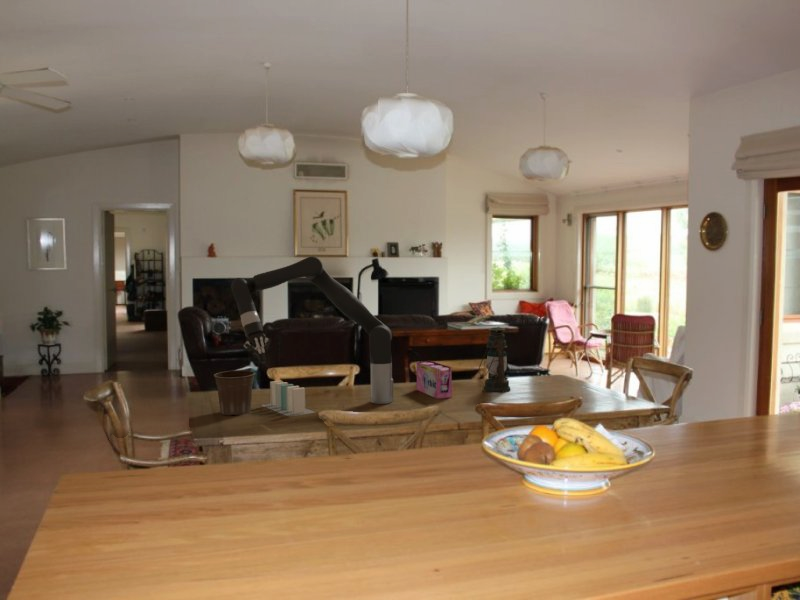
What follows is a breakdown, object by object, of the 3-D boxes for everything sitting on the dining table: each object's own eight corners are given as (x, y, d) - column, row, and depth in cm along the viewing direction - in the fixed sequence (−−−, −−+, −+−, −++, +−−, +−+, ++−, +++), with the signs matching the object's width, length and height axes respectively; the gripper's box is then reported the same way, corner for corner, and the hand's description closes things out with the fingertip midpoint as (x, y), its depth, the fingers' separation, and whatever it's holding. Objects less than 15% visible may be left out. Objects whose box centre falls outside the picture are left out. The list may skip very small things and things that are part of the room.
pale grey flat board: (260, 406, 291) (260, 405, 291) (286, 402, 298) (286, 401, 298) (289, 417, 270) (289, 416, 270) (315, 413, 277) (315, 412, 277)
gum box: (453, 398, 305) (453, 367, 304) (437, 399, 302) (437, 369, 301) (431, 388, 327) (431, 360, 326) (416, 389, 324) (415, 361, 323)
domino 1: (270, 405, 291) (270, 381, 291) (281, 403, 294) (280, 380, 294) (272, 405, 290) (271, 382, 290) (282, 404, 293) (282, 381, 292)
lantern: (515, 393, 313) (516, 328, 311) (485, 394, 311) (485, 329, 310) (504, 385, 332) (504, 324, 330) (475, 386, 331) (475, 324, 329)
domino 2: (275, 407, 287) (275, 383, 287) (286, 405, 290) (286, 382, 290) (277, 407, 286) (277, 384, 286) (288, 406, 289) (287, 382, 288)
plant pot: (235, 419, 269) (234, 378, 268) (206, 414, 277) (205, 374, 276) (264, 411, 282) (263, 372, 281) (235, 406, 291) (234, 369, 290)
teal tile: (281, 409, 283) (280, 385, 283) (292, 407, 286) (291, 383, 286) (283, 409, 282) (282, 385, 282) (294, 408, 285) (293, 384, 284)
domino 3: (286, 411, 279) (286, 387, 279) (297, 409, 282) (297, 385, 282) (288, 412, 278) (288, 387, 277) (299, 410, 281) (299, 386, 280)
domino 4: (292, 413, 275) (291, 388, 275) (303, 411, 278) (303, 387, 278) (294, 414, 274) (293, 389, 273) (305, 412, 277) (304, 388, 276)
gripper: (261, 323, 296) (273, 361, 293) (233, 329, 287) (245, 368, 284) (269, 318, 290) (281, 357, 287) (241, 323, 282) (253, 363, 279)
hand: (263, 362), depth 286 cm, fingers closed
